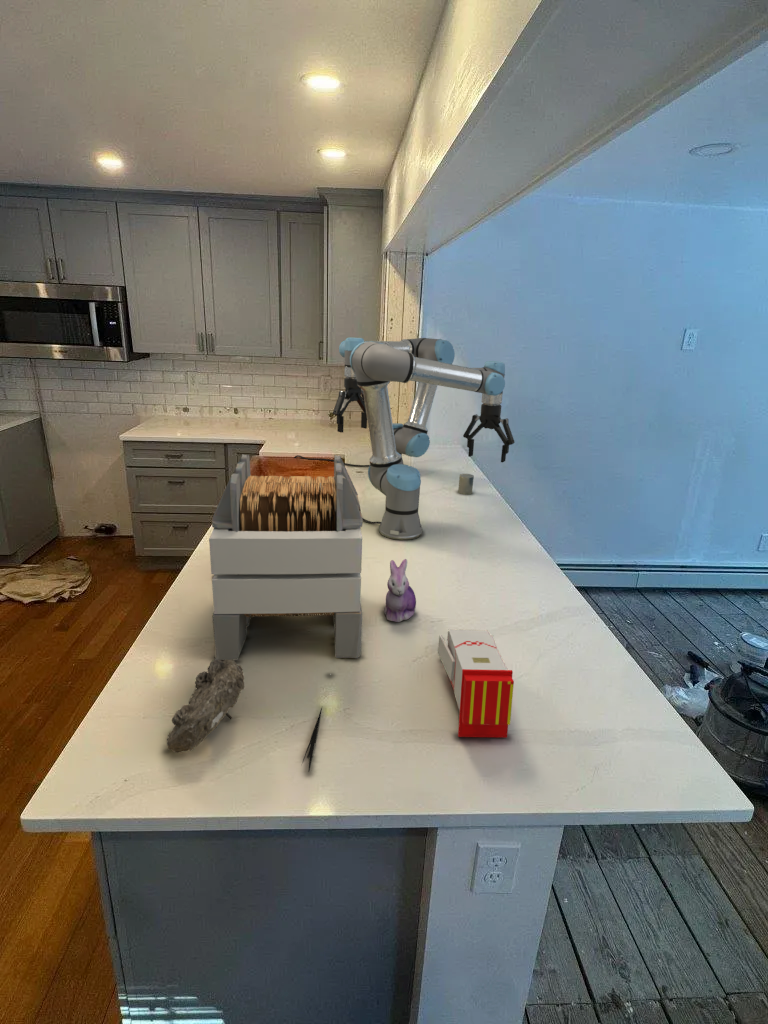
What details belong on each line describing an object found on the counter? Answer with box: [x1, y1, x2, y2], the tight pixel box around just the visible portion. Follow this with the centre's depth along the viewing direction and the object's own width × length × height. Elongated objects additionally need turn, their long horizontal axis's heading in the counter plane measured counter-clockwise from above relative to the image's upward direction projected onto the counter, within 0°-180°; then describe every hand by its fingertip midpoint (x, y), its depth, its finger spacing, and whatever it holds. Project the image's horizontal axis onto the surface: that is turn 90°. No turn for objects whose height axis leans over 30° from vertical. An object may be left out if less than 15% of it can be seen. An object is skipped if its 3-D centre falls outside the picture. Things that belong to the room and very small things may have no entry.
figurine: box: [384, 558, 417, 623], centre depth 145 cm, size 9×10×15 cm
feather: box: [301, 673, 332, 771], centre depth 108 cm, size 2×28×2 cm
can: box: [457, 473, 475, 496], centre depth 247 cm, size 6×6×8 cm
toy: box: [437, 628, 515, 738], centre depth 117 cm, size 12×13×30 cm
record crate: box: [208, 453, 364, 661], centre depth 135 cm, size 34×33×41 cm
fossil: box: [166, 659, 245, 754], centre depth 106 cm, size 22×10×15 cm
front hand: (486, 458), depth 221 cm, fingers open, 13 cm apart
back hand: (352, 430), depth 235 cm, fingers open, 13 cm apart
